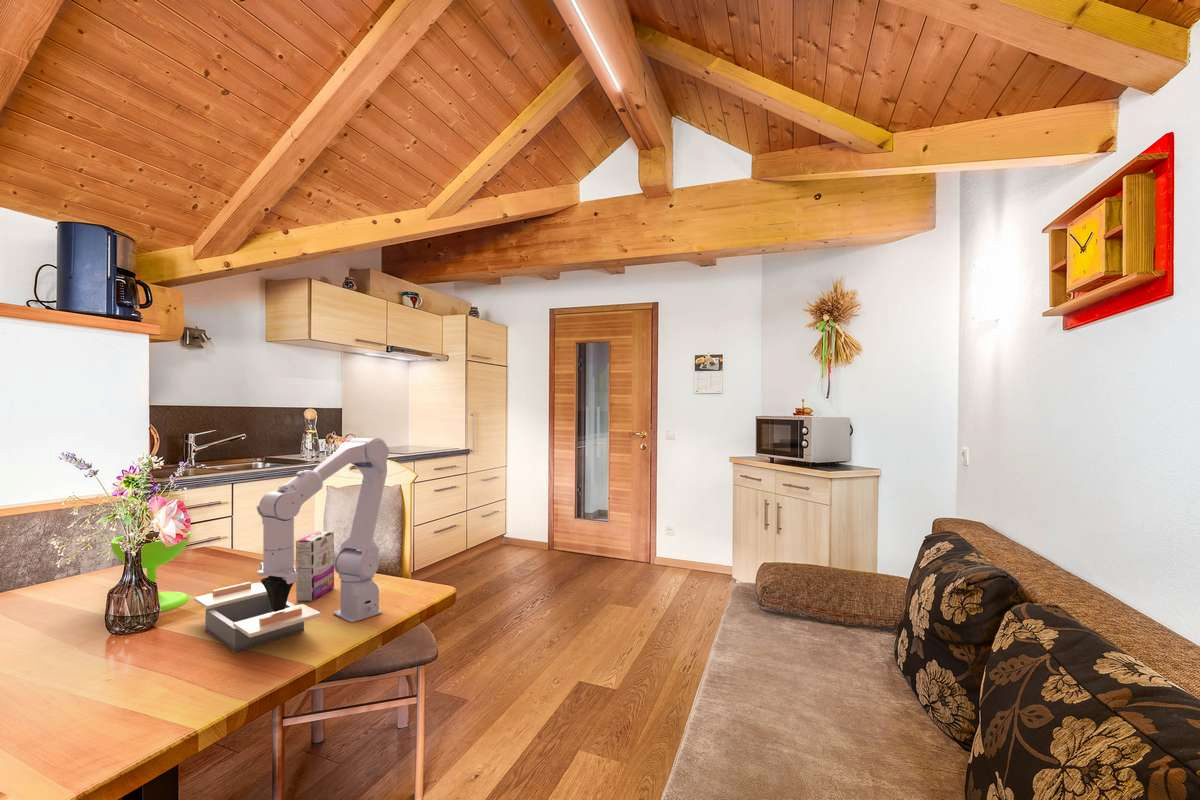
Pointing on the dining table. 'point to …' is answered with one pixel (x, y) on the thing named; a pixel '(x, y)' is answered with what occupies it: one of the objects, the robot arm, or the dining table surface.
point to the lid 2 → (276, 620)
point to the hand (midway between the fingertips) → (278, 610)
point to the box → (226, 615)
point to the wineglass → (152, 558)
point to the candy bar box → (315, 565)
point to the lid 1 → (231, 594)
